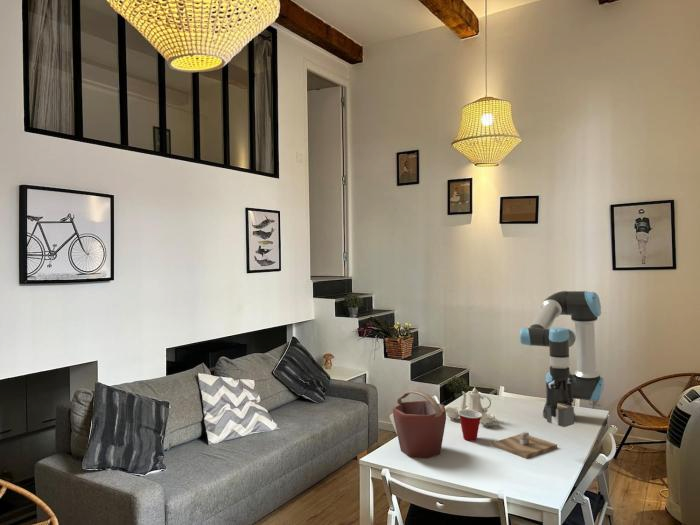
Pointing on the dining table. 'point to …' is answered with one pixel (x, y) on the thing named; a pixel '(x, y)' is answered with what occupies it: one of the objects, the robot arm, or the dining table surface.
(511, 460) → the dining table surface
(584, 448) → the dining table surface
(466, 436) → the plastic cup
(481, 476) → the dining table surface
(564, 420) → the grey box
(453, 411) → the chinaware
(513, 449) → the hub base
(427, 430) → the bucket
